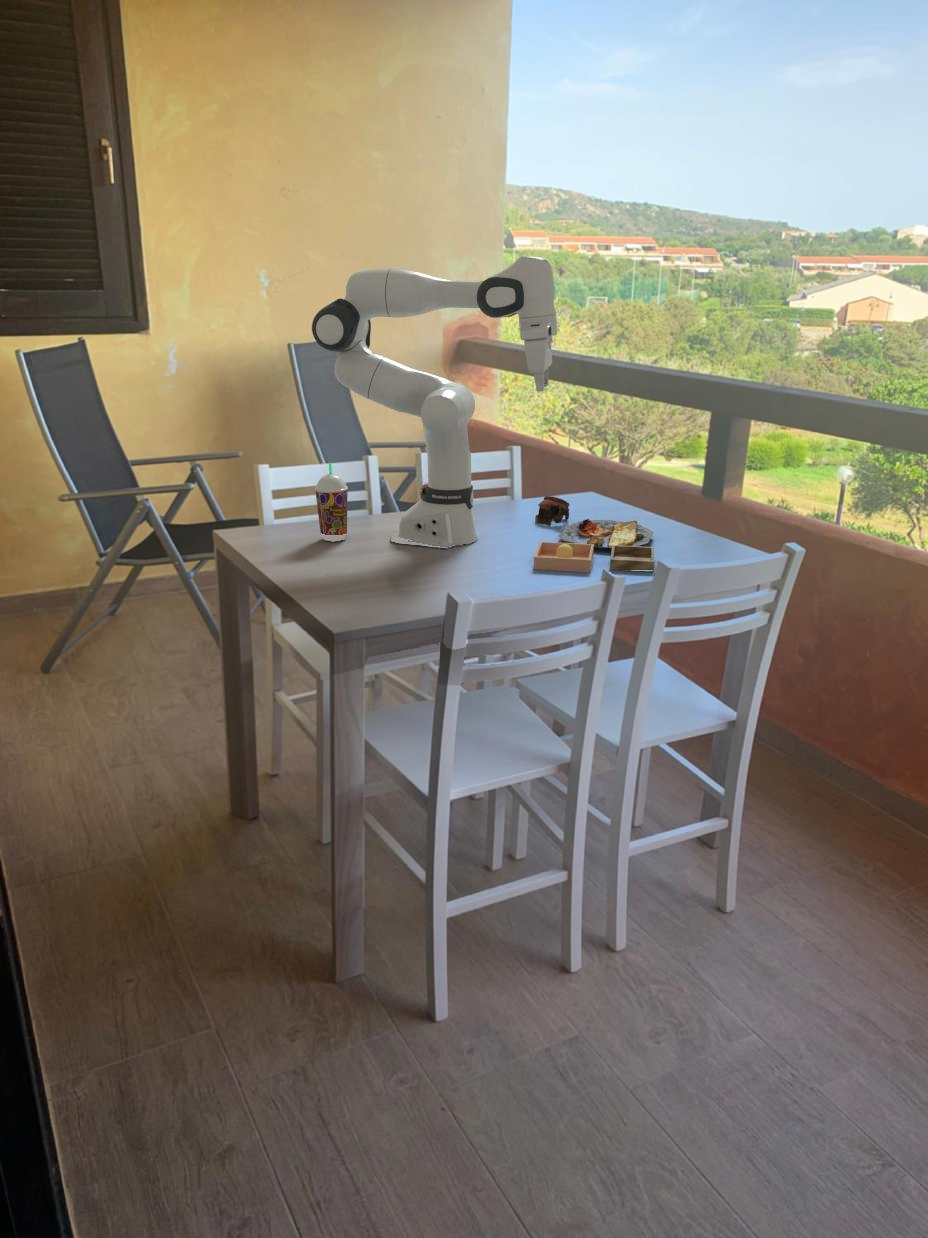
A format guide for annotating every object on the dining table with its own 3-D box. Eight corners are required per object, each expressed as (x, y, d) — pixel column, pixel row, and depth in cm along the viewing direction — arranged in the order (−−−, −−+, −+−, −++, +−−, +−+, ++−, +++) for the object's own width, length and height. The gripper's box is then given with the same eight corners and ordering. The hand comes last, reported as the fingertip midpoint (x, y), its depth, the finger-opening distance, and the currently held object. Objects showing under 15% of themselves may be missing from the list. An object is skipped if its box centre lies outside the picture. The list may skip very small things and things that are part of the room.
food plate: (571, 523, 252) (572, 511, 251) (656, 531, 245) (657, 518, 244) (551, 551, 230) (552, 537, 229) (644, 560, 224) (645, 546, 222)
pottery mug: (526, 522, 256) (535, 494, 257) (554, 534, 260) (563, 506, 261) (547, 521, 245) (557, 492, 246) (576, 533, 249) (585, 505, 250)
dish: (533, 569, 214) (533, 556, 213) (539, 553, 226) (540, 541, 225) (590, 572, 212) (590, 559, 211) (593, 555, 224) (593, 544, 223)
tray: (609, 569, 213) (610, 559, 212) (611, 555, 224) (612, 545, 223) (653, 572, 212) (654, 561, 211) (653, 557, 223) (653, 547, 222)
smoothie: (336, 545, 233) (332, 467, 226) (311, 541, 237) (306, 464, 230) (356, 537, 240) (353, 462, 232) (332, 533, 244) (327, 458, 237)
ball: (555, 562, 217) (555, 546, 216) (556, 557, 221) (557, 541, 220) (571, 563, 217) (572, 547, 215) (573, 558, 220) (573, 542, 219)
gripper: (530, 327, 226) (534, 384, 230) (519, 332, 207) (524, 395, 212) (555, 325, 224) (559, 382, 229) (547, 330, 206) (551, 392, 210)
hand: (542, 388), depth 220 cm, fingers open, 8 cm apart
